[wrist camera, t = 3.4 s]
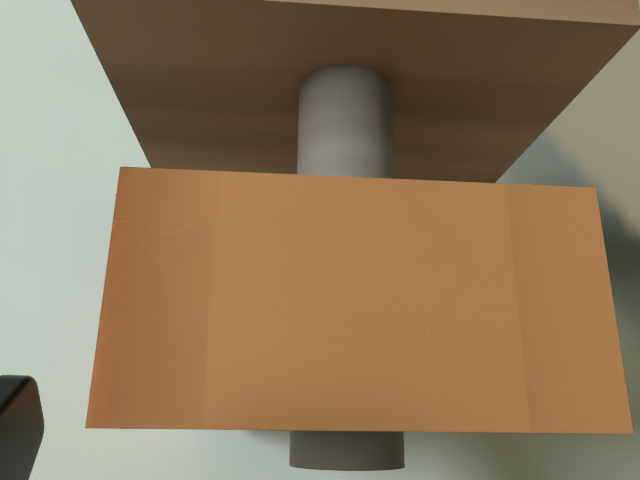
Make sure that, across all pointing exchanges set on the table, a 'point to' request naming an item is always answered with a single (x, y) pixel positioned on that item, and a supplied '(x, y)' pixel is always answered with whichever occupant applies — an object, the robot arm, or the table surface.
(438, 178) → the walnut stand
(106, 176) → the table surface
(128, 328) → the C-link
